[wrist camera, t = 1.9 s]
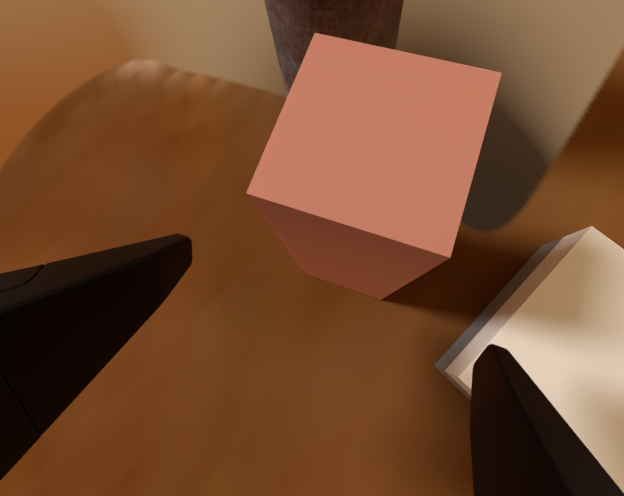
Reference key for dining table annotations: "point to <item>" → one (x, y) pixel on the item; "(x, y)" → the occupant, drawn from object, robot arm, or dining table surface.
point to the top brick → (373, 162)
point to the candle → (329, 26)
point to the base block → (562, 338)
